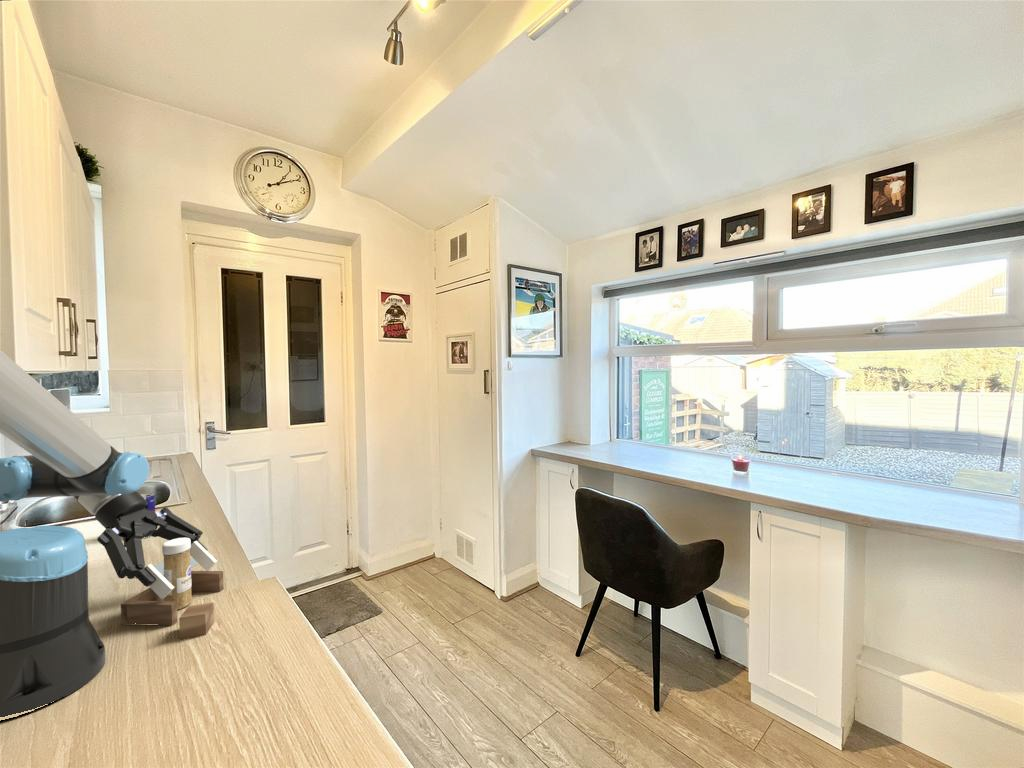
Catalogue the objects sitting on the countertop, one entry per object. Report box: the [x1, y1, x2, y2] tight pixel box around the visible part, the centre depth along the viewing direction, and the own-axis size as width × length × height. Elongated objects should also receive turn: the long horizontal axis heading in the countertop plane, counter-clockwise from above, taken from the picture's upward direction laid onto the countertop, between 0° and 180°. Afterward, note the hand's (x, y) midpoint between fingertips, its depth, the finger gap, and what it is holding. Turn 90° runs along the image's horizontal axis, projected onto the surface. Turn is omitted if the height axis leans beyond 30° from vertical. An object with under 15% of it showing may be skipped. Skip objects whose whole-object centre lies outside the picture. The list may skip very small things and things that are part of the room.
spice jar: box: [161, 538, 193, 611], centre depth 86 cm, size 5×5×13 cm
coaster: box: [153, 557, 200, 576], centre depth 103 cm, size 9×9×1 cm
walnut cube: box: [178, 602, 215, 640], centre depth 78 cm, size 4×4×4 cm
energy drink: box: [139, 492, 156, 512], centre depth 124 cm, size 5×5×12 cm
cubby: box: [120, 570, 225, 626], centre depth 86 cm, size 13×10×4 cm
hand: (191, 579), depth 86 cm, fingers open, 10 cm apart
